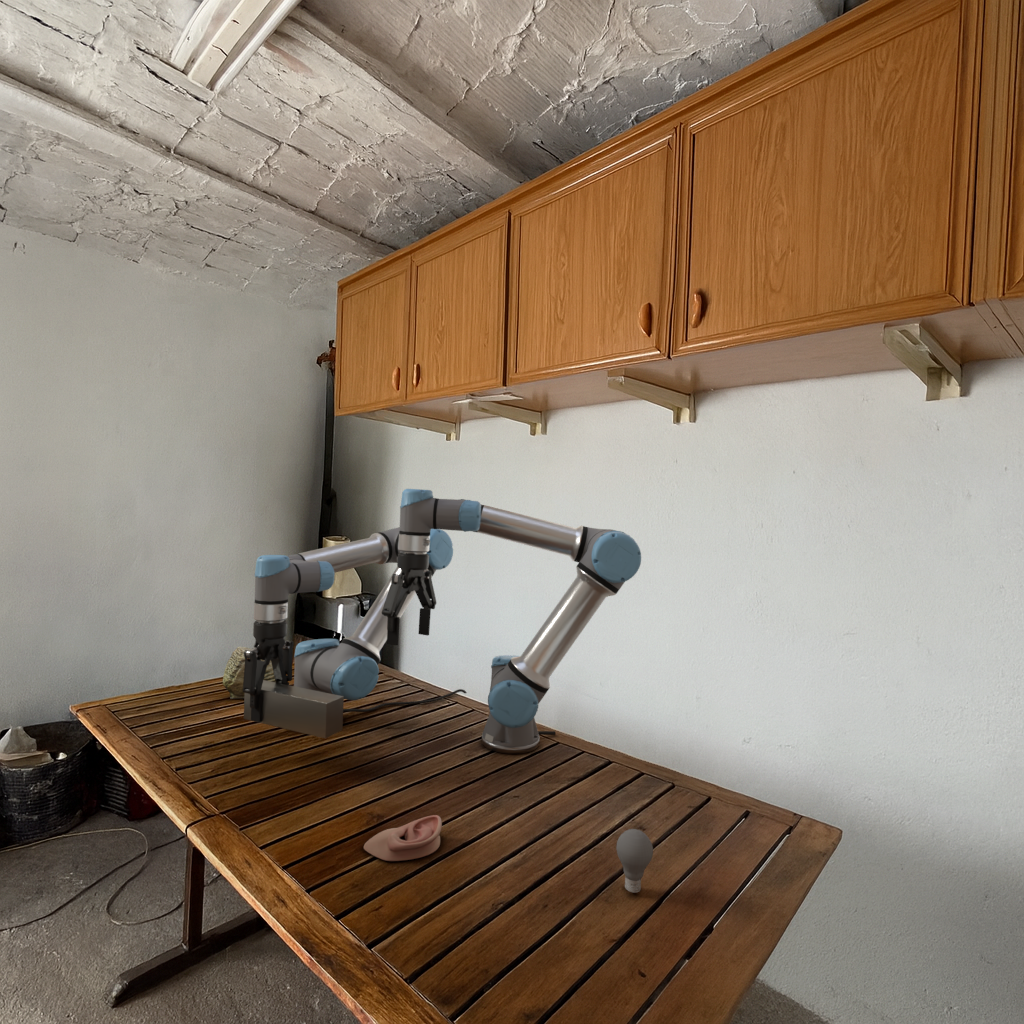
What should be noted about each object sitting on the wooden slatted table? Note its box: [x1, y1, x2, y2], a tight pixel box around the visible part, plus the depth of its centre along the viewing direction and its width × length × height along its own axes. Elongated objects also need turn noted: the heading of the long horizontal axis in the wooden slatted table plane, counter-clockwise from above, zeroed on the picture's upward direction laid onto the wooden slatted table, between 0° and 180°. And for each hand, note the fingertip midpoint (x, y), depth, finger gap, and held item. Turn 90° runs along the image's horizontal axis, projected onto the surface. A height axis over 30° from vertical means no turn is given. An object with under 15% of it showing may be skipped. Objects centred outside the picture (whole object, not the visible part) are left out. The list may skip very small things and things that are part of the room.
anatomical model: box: [363, 814, 443, 862], centre depth 116 cm, size 13×4×12 cm
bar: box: [243, 680, 345, 739], centre depth 148 cm, size 24×6×8 cm, turn 66°
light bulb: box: [615, 828, 654, 894], centre depth 106 cm, size 6×6×10 cm
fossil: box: [222, 646, 276, 699], centre depth 198 cm, size 9×18×15 cm, turn 132°
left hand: (267, 716), depth 151 cm, fingers closed on bar, 6 cm apart
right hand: (408, 639), depth 154 cm, fingers open, 13 cm apart
